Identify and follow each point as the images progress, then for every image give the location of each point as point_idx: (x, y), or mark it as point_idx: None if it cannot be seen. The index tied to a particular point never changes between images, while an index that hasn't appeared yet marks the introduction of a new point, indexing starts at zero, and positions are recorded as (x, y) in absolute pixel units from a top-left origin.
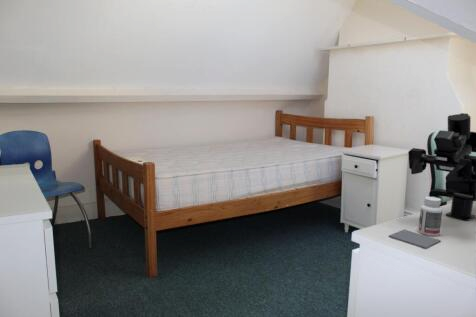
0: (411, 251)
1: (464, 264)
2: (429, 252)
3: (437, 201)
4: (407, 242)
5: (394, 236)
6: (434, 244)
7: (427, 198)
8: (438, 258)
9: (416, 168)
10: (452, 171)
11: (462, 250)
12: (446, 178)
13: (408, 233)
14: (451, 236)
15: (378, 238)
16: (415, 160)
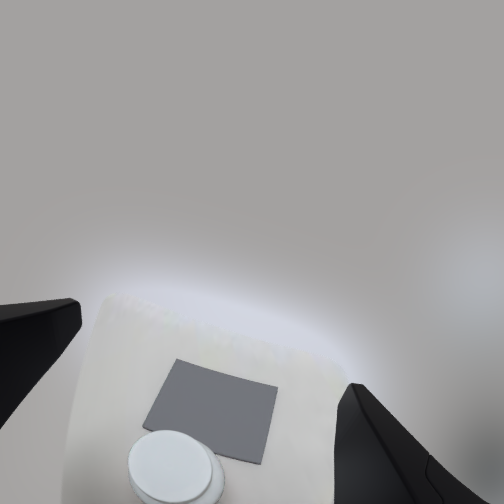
0: (204, 335)
1: (106, 320)
2: (168, 347)
3: (143, 437)
4: (223, 374)
5: (263, 389)
6: (158, 396)
7: (195, 450)
8: (150, 326)
9: (360, 455)
10: (13, 311)
11: (94, 389)
12: (77, 309)
13: (237, 434)
14: (114, 488)
15: (291, 366)
16: (462, 495)
